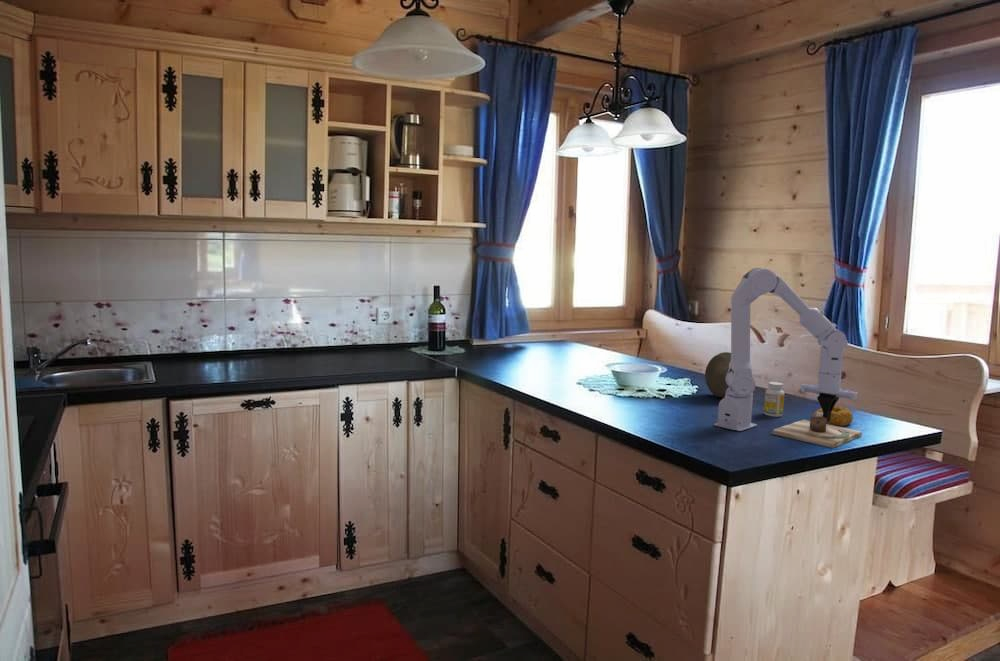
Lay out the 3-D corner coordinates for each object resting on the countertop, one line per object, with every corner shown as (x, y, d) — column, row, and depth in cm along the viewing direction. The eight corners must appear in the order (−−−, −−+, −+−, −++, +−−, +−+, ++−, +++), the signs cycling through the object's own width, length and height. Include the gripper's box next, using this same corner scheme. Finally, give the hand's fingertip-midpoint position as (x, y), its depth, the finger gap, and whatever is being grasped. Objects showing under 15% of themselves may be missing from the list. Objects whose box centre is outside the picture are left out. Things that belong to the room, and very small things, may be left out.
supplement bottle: (768, 417, 211) (771, 385, 210) (760, 412, 216) (762, 381, 215) (786, 417, 212) (788, 385, 210) (777, 412, 217) (779, 381, 216)
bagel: (805, 417, 212) (806, 402, 212) (842, 418, 212) (844, 403, 211) (819, 426, 202) (821, 410, 202) (859, 427, 202) (860, 411, 202)
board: (833, 447, 181) (833, 442, 180) (772, 434, 192) (773, 428, 192) (861, 435, 193) (862, 430, 192) (803, 423, 204) (803, 418, 204)
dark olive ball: (695, 397, 235) (698, 352, 233) (715, 391, 245) (718, 348, 243) (736, 405, 225) (739, 358, 223) (755, 398, 236) (758, 353, 234)
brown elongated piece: (824, 437, 184) (825, 425, 184) (807, 435, 186) (808, 423, 186) (827, 422, 200) (828, 411, 200) (811, 420, 202) (812, 409, 202)
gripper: (863, 374, 192) (859, 424, 194) (810, 367, 203) (806, 414, 205) (852, 377, 188) (848, 428, 189) (798, 369, 198) (795, 417, 200)
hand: (826, 421), depth 197 cm, fingers closed, pressing on brown elongated piece
